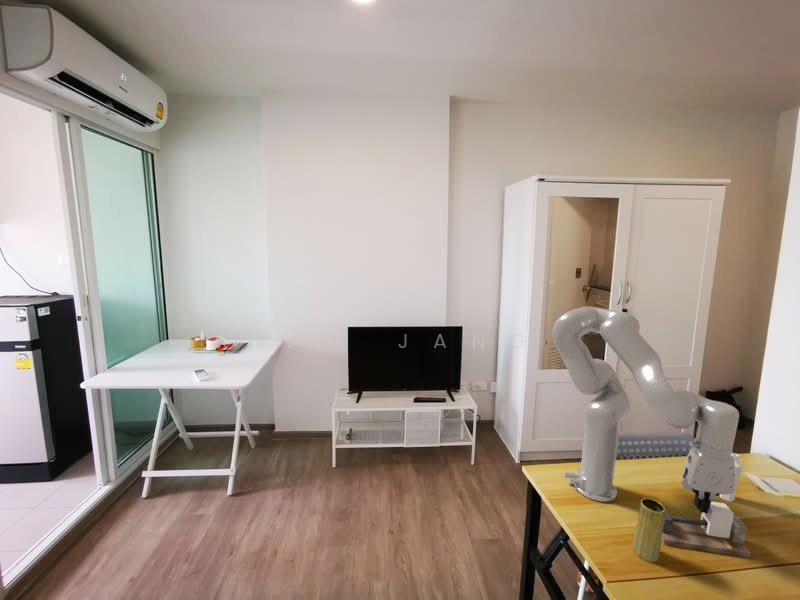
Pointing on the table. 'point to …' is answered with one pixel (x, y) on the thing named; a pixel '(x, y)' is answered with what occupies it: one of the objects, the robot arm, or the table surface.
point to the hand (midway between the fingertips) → (700, 509)
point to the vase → (649, 530)
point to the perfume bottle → (738, 471)
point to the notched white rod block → (718, 520)
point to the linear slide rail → (703, 536)
